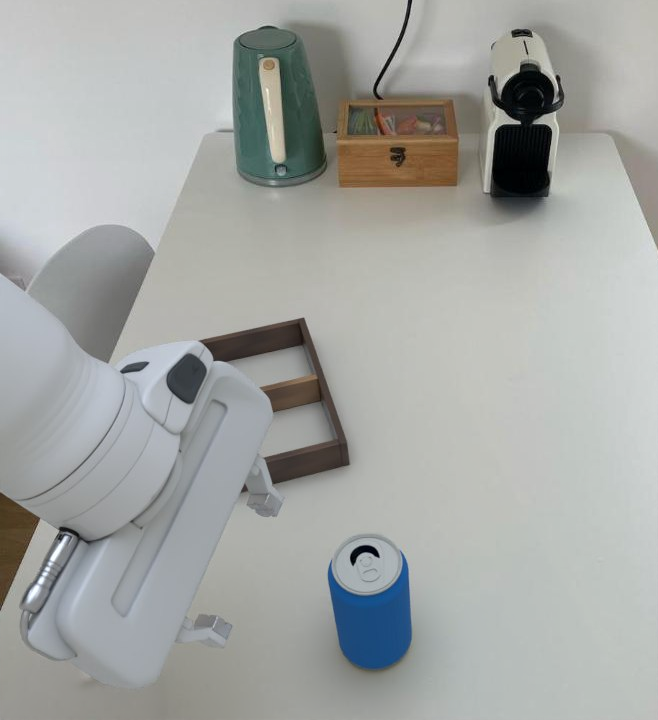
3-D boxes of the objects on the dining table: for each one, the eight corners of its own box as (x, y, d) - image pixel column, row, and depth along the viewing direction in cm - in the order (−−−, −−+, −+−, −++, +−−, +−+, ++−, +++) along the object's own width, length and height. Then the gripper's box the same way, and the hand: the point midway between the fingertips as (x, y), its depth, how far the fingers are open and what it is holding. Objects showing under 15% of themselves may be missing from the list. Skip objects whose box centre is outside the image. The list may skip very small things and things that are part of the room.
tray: (223, 497, 84) (216, 474, 82) (199, 363, 99) (193, 341, 97) (349, 464, 87) (347, 442, 84) (307, 339, 102) (304, 317, 100)
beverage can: (398, 597, 75) (393, 519, 67) (422, 659, 70) (419, 584, 62) (331, 618, 74) (317, 541, 65) (350, 683, 69) (337, 609, 61)
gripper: (37, 639, 39) (220, 735, 47) (210, 320, 51) (332, 442, 59) (-32, 630, 42) (150, 721, 51) (145, 333, 54) (269, 447, 63)
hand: (249, 569), depth 55 cm, fingers open, 8 cm apart
